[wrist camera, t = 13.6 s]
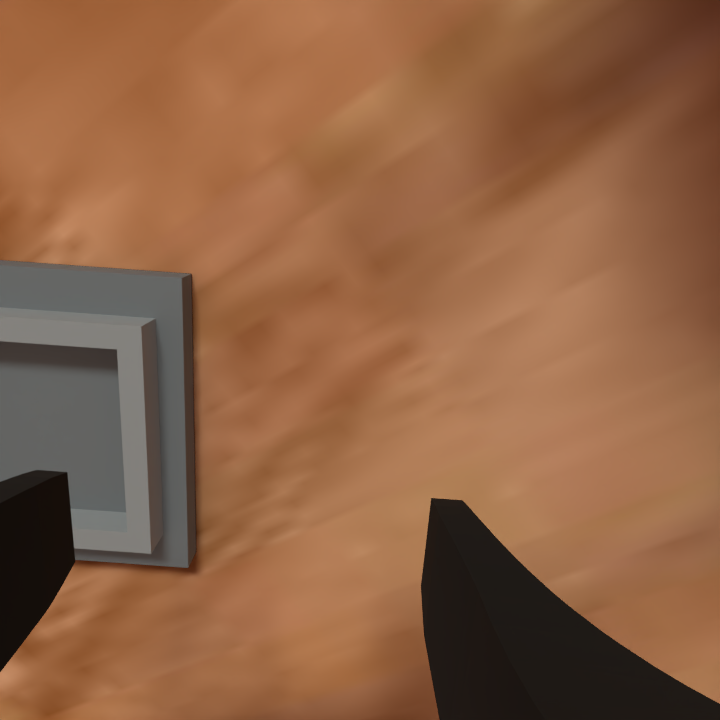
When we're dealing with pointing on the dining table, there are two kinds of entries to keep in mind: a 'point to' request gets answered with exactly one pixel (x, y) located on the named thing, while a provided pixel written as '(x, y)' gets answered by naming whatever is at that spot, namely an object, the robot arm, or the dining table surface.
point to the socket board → (103, 402)
